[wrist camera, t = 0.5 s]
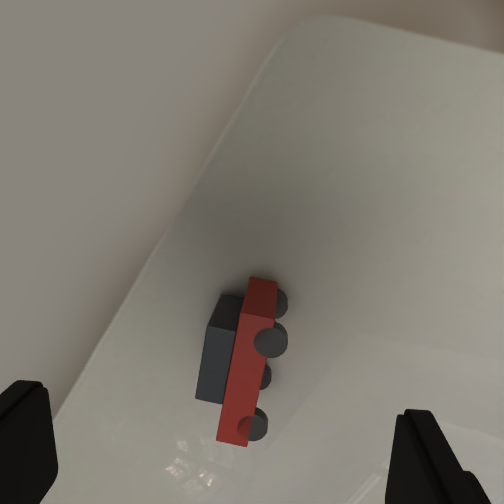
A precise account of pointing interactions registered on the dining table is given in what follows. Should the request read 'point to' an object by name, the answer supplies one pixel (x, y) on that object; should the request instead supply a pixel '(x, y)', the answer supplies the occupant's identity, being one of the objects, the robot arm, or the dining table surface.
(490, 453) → the dining table surface
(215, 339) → the toy car
